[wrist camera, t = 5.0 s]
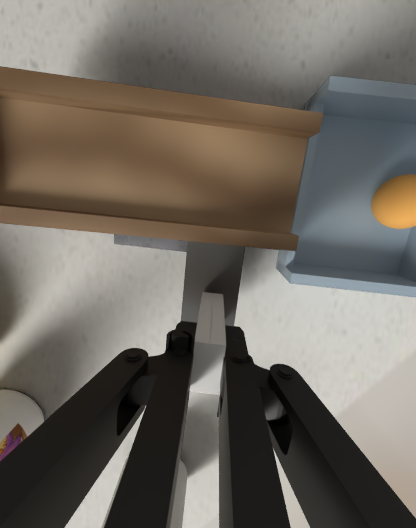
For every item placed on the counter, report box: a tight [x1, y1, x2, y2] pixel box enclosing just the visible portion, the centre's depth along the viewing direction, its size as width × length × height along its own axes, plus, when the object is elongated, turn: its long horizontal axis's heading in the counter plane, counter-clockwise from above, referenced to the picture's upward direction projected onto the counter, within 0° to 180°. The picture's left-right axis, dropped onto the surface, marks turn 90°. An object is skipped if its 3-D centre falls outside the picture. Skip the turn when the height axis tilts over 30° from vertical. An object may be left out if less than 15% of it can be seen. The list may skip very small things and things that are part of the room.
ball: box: [371, 174, 416, 229], centre depth 19 cm, size 4×4×4 cm
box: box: [276, 76, 416, 297], centre depth 17 cm, size 14×11×8 cm
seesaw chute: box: [0, 66, 323, 326], centre depth 16 cm, size 16×20×3 cm
